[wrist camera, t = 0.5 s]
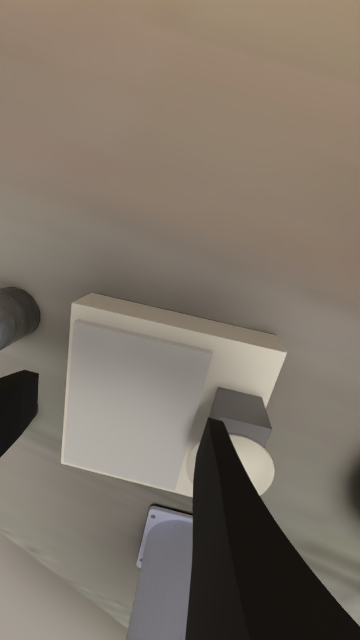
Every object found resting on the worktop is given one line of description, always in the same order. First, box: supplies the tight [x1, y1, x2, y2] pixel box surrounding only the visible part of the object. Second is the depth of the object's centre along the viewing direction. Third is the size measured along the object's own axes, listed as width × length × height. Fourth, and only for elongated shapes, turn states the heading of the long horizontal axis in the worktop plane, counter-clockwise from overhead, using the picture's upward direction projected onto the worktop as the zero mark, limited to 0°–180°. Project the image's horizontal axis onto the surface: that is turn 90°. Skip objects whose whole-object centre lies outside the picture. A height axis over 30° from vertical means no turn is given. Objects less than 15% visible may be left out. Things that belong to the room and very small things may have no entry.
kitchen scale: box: [61, 293, 287, 497], centre depth 19 cm, size 14×15×6 cm
